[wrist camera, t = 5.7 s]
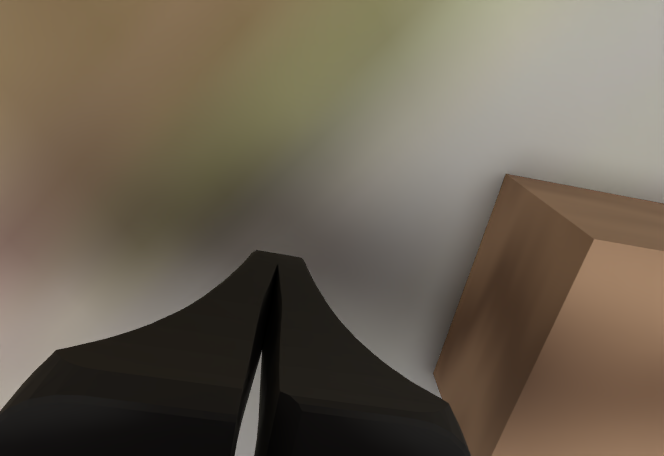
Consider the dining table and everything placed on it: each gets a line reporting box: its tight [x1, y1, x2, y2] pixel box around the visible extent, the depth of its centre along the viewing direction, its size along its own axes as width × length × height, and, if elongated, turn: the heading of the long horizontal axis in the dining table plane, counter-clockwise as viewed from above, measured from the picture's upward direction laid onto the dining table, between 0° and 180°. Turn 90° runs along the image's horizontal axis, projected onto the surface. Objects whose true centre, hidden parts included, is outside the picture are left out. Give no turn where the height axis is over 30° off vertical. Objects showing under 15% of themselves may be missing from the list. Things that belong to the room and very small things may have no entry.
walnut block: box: [433, 174, 664, 456], centre depth 14 cm, size 8×10×5 cm
